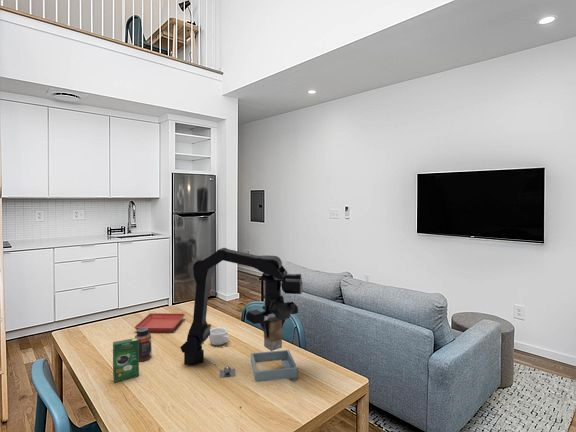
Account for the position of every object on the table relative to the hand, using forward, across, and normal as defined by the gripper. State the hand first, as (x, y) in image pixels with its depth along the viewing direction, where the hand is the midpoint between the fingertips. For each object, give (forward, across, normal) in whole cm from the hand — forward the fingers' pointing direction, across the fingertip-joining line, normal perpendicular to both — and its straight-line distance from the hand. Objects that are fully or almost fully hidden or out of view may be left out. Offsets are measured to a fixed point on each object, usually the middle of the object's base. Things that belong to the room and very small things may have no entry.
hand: (272, 336), depth 127 cm
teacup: (+13, -5, +32) cm, 35 cm away
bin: (+13, 0, 0) cm, 13 cm away
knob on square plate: (+13, -14, +7) cm, 20 cm away
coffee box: (+13, -43, +27) cm, 52 cm away
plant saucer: (+14, -18, +67) cm, 71 cm away
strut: (+4, 0, 0) cm, 4 cm away
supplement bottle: (+13, -34, +38) cm, 53 cm away
